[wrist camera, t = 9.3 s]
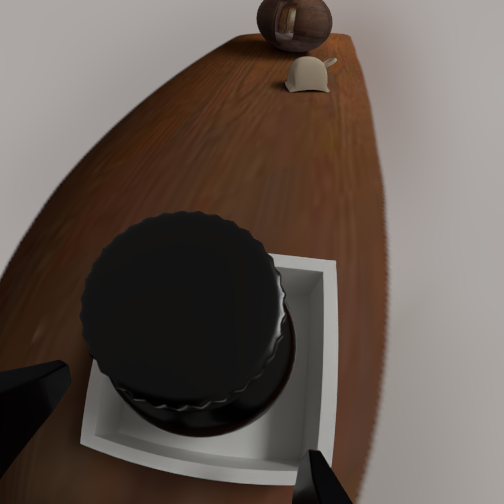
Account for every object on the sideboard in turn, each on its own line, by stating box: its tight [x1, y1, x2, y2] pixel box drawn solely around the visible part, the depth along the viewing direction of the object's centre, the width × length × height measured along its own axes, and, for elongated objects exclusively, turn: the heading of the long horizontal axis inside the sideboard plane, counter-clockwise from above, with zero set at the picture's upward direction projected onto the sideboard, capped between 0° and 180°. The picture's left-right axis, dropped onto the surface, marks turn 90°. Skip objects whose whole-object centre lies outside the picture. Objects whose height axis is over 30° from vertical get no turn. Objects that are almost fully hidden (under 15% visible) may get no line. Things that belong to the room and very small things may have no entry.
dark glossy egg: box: [257, 0, 332, 52], centre depth 42 cm, size 15×15×15 cm
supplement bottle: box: [80, 211, 297, 438], centre depth 11 cm, size 7×7×12 cm
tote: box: [80, 253, 338, 485], centre depth 15 cm, size 13×13×4 cm
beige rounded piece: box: [285, 57, 337, 92], centre depth 36 cm, size 4×8×5 cm, turn 106°
